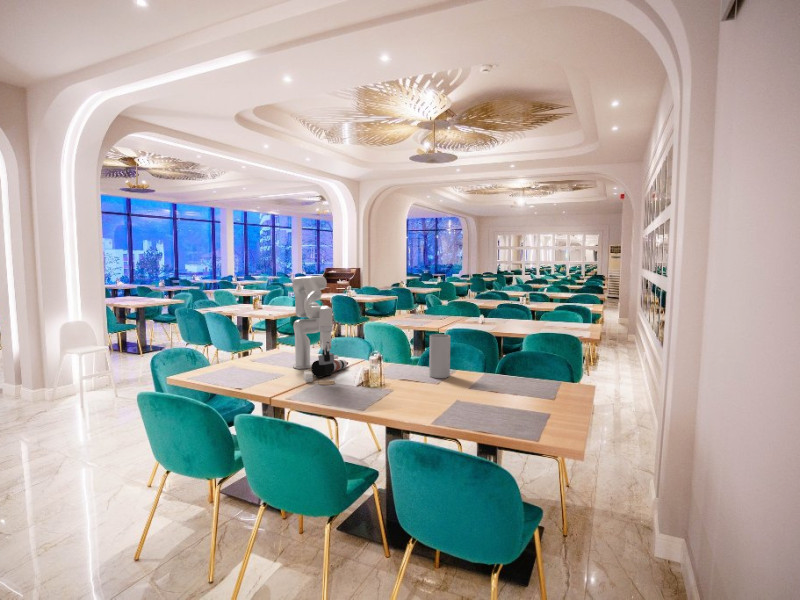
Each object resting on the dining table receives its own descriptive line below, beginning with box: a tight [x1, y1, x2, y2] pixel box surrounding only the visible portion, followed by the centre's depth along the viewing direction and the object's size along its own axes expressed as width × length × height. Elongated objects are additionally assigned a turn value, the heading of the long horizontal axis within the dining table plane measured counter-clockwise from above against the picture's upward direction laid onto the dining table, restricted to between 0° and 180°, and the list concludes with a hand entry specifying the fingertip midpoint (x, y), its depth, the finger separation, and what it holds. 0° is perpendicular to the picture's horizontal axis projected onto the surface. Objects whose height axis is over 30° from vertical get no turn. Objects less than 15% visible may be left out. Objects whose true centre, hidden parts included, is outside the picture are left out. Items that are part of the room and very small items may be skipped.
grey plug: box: [317, 352, 339, 365], centre depth 261 cm, size 11×4×5 cm, turn 112°
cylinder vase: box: [428, 333, 451, 379], centre depth 277 cm, size 12×12×25 cm
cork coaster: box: [317, 379, 336, 386], centre depth 262 cm, size 10×10×1 cm
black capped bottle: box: [310, 359, 349, 378], centre depth 287 cm, size 10×34×10 cm, turn 156°
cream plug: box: [303, 369, 314, 383], centre depth 266 cm, size 11×4×5 cm, turn 21°
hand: (326, 360), depth 261 cm, fingers closed on grey plug, 4 cm apart
